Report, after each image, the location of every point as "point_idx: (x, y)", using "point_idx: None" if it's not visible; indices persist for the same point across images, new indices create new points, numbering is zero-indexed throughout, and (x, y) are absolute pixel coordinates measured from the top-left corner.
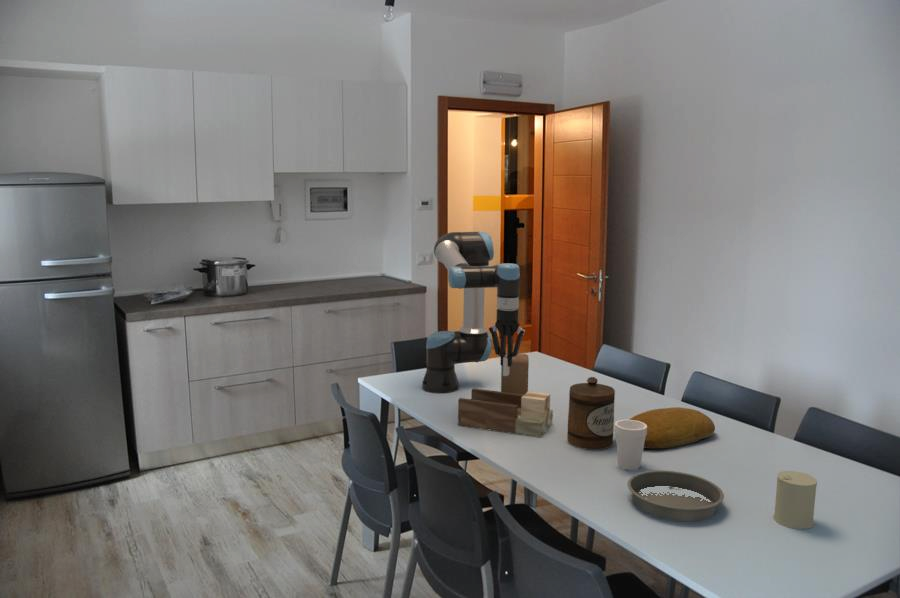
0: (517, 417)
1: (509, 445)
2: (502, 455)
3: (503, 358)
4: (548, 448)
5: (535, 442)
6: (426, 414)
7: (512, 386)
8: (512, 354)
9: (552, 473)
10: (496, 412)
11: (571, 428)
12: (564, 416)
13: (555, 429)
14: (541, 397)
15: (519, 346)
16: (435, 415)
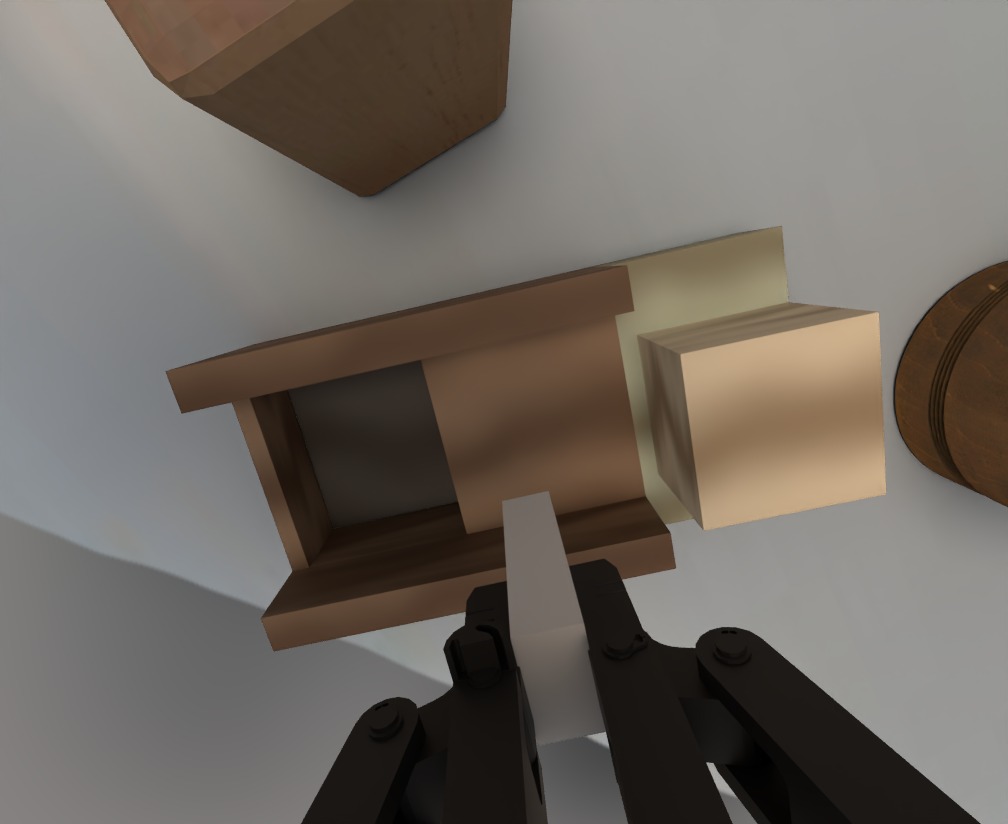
0: (643, 490)
1: (676, 631)
2: None
3: (540, 732)
4: (846, 567)
5: (765, 537)
6: (77, 514)
7: (394, 122)
8: (716, 767)
9: (941, 765)
10: None
11: (1004, 504)
12: (756, 41)
13: None
14: (843, 441)
15: (923, 796)
16: (125, 499)
